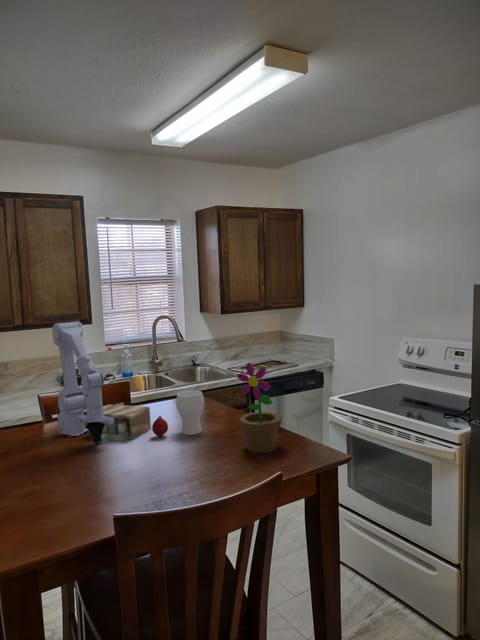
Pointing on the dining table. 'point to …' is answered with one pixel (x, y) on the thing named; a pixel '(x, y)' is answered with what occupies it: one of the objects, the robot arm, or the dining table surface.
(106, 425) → the grey rounded piece
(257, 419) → the flowerpot
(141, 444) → the dining table surface
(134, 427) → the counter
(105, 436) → the tray
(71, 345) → the robot arm
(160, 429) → the onion
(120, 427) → the white egg
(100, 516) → the dining table surface
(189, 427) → the cup
